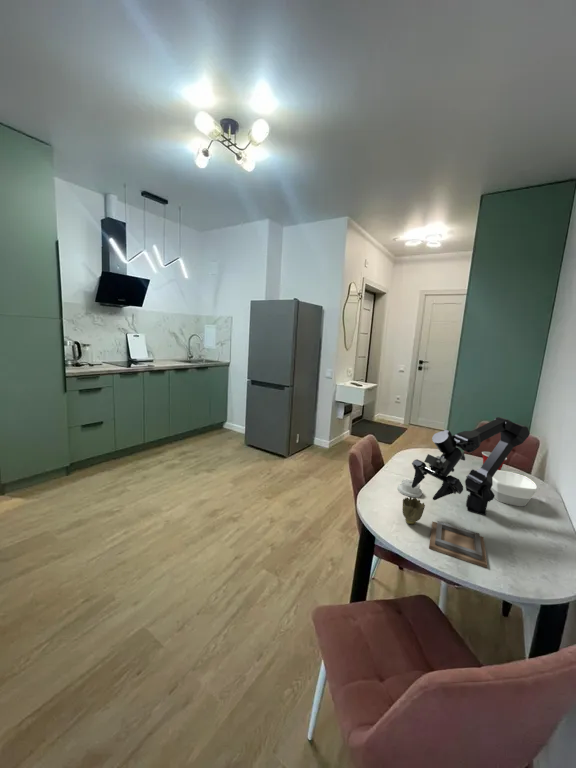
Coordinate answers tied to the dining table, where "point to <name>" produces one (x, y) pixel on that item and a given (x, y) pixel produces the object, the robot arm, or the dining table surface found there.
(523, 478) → the bowl
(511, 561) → the dining table surface
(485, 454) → the plastic cup
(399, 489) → the mechanical component
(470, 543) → the holder board
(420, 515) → the cup
